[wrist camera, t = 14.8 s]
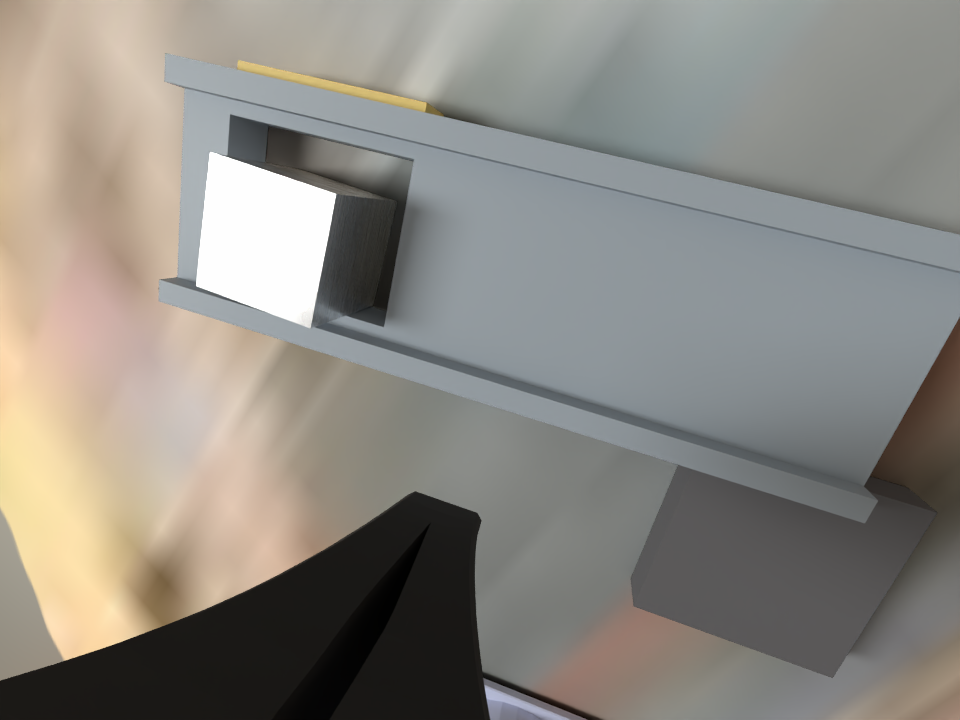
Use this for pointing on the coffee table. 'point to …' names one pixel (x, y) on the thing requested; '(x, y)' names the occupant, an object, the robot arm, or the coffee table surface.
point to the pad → (774, 566)
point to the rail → (607, 289)
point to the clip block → (291, 240)
